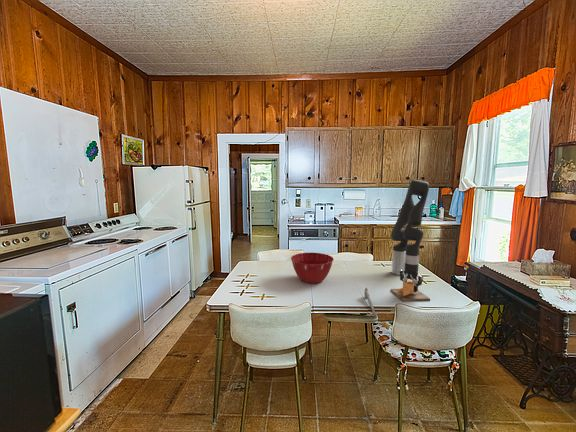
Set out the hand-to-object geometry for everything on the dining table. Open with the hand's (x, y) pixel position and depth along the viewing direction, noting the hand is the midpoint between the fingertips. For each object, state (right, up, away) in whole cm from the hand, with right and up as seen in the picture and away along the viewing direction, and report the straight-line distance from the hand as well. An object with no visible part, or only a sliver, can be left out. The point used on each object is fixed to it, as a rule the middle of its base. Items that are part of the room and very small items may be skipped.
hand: (410, 290), depth 174 cm
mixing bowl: (-55, 0, +27) cm, 62 cm away
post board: (0, -3, 0) cm, 3 cm away
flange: (-2, -1, -2) cm, 3 cm away
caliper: (-27, -5, -12) cm, 30 cm away
